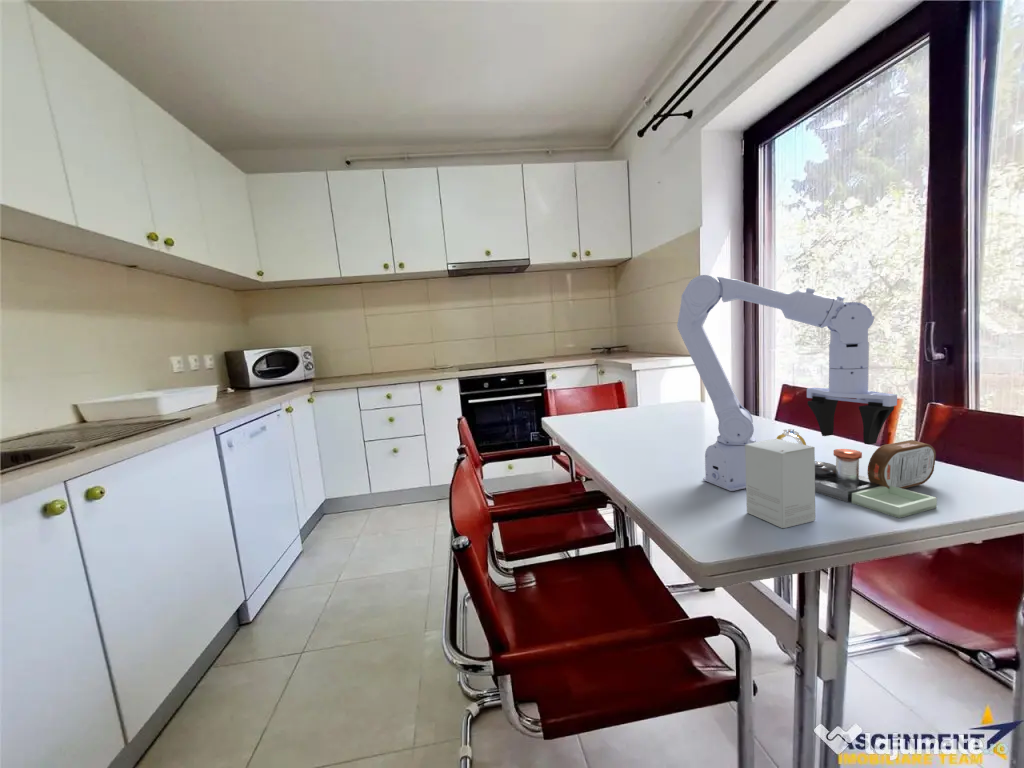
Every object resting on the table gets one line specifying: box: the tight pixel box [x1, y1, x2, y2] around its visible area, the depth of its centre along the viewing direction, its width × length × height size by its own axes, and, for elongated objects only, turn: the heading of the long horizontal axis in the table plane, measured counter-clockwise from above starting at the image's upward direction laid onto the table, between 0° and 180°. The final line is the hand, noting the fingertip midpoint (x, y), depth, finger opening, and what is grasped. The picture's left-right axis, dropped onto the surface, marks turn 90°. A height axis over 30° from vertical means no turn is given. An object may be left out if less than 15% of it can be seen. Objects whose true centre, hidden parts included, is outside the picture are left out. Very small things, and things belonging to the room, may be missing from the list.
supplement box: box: [745, 438, 816, 529], centre depth 71 cm, size 7×7×13 cm
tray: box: [851, 486, 938, 519], centre depth 72 cm, size 9×7×2 cm
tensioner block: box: [815, 460, 880, 503], centre depth 82 cm, size 10×12×4 cm
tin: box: [867, 439, 937, 489], centre depth 78 cm, size 15×3×8 cm, turn 107°
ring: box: [775, 428, 807, 445], centre depth 98 cm, size 7×3×8 cm, turn 10°
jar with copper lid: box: [833, 448, 863, 488], centre depth 79 cm, size 4×4×8 cm
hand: (847, 439), depth 78 cm, fingers open, 7 cm apart
